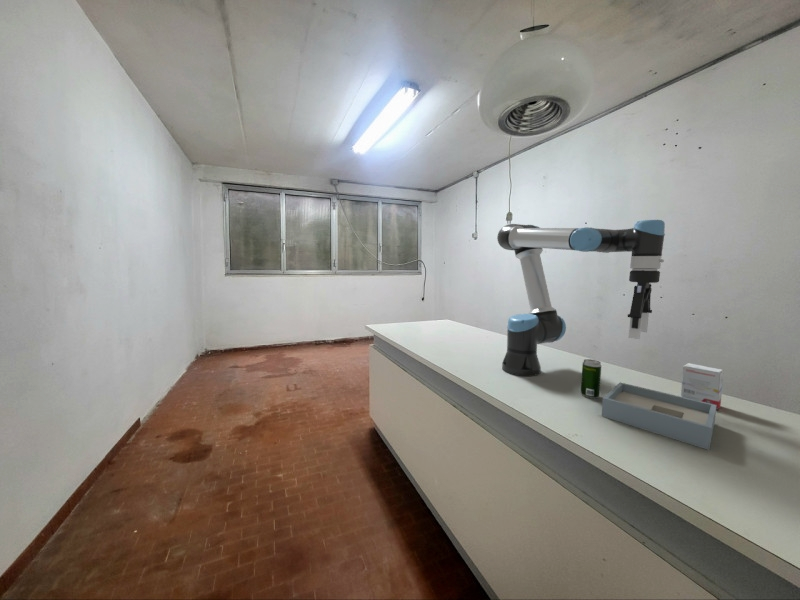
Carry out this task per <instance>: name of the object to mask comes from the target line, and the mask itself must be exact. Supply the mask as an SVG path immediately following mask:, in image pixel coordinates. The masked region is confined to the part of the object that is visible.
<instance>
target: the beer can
mask: <svg viewBox="0 0 800 600" xmlns="http://www.w3.org/2000/svg"><path fill="white" fill-rule="evenodd" d="M581 365H582V367H581V382H580V384H581V385H580V394H581V395H582V397H583V398H587V399H590V400H597V399H599V397H600V393H601V377H602V362H601V361H599V360H595V359H591V358H589V359H586V358H585V359H583V361H582V364H581Z"/></svg>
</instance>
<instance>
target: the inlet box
mask: <svg viewBox="0 0 800 600" xmlns="http://www.w3.org/2000/svg"><path fill="white" fill-rule="evenodd" d="M716 406H717V405H714V404H710V403H706V402H701V401H697V400H693V399H689V398H684V397H681V395H680V396H679V395H676V394H671V393H667V392H662V391H658V390H654V389H649V388H645V387H641V386H637V385H633V384H629V383H626V382H625V383H624V382H621V381H619V382H618V383H617V385H615V386H614V387H613V388H612V389H611V390H610V391H609V392H608V393H607V394H605V395H604V396H603V397H602V406H601V417H604V418H607V419H609V420H613V421H616V422H618V423H623V424H626V425H629V426H632V427H635V428H638V429H642V430H645V431H647V432H650V433H654V434H657V435H660V436H664V437H666V438H669V439H673V440H676V441H679V442H682V443H685V444H687V445H688V444H689V445H691V446H696V447H698V448H701V449H705V450H707V451H710V449H711V448H710V447H711V442H712V438H713V433H714V428H715V424H716V423H715V421H716V413H717V409H716Z"/></svg>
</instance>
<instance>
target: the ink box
mask: <svg viewBox="0 0 800 600" xmlns="http://www.w3.org/2000/svg"><path fill="white" fill-rule="evenodd" d="M681 373H682V374H681V388H680V389H681V390H680V397H684V398H689V399H693V400H697V401H701V402H706V403H710V404H714V405H717V406H716V410H719V409H720V407H721V404H722V395H723V385H724V384H723V383H724V369H721V368H715V367H710V366H705V365H702V364H695V363H689V362H687V363H685V364H684V365H682V372H681Z"/></svg>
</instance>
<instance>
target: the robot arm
mask: <svg viewBox="0 0 800 600" xmlns="http://www.w3.org/2000/svg"><path fill="white" fill-rule="evenodd" d="M665 224H666V223H665V221H664V220H662V219H645V220H638V221H635V223H634V226H633V227H632V228H625V229H623V228H622V229H608V228H607V229H606V228H597V227H596V228H594V227H588V226H587V227H586V226H585V227H539V226H537V225H534V224H519V223H509V224H506V225H504V226H503V227H501V229H499V231H498V232H497V238H496V239H497V243H498V245H499V246H500V247H501V248H502V249H503V250H506V251H514V255H515V258H516V259H519V261H520V266H521V270H522V276H523V281H524V285H525V289H526V294H527V299H528V305H529V308H530V311H529V312H528V313H522V314H521V313H519V314H514V315H512V316H510V317H509V318H508V319H507V320H508V321H507V327H506V328H507V335H506V337H507V339H506V342H507V344H506V353H505V355H504V357H503V361H502V363H501V368H502V370H503V372H505V373H507V374H508V373H509V374H512V375H514V376H515V375H516V376H519V377H535V376H538V375H541V364H540V361H539V357H538V354H537V353H538V345H539V344H540V345H541V344H547V343H555V342H557V341H560V340H561V339H563V337H564V335H565V334H566V331H567V325H566V322H565V320H564V318H562V317H561V316H560V315H558V311H557V309H556V308H555V307H553V306H552V302H551V299H550V293H549V290H548V285H547V280H546V276H545V271H544V268H543V267H544V266H543V262H542V258H541V254H542V253H543V252H544V249H549V250H552V249H553V250H563V251H564V250H567V251H577V252H583V253H584V252H585V253H587V252H595V253H605V254H607V253H620V252H621V253H622V252H624V253H625V252H626V253H627V252H631V256H630V265H629V268H630V269H631V270H630V271H629V278H628V281H629V282H630V283H637V285H634V288H633V295H632V300H631V306H630V312H629V314H627V318H629V328H628V329H629V330H628V339H634V340H640V339H641V332H642V333H647V332H648V327H649V326H648V325H649V317H650V316H649V315H650V314H652V313H653V310H652V309H651V296H652V295H651V294H652V290H653V289H652V284H653V283H654V284H656V283H657V284H658V283H659V282H660V279H661V278H660V276H661V272H660V269H661V267H662V264H661V263H664V261H665V260H664V259H662V256H663V249H664V240H665V239H664V238H665V235H666V233H665V226H666V225H665Z"/></svg>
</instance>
